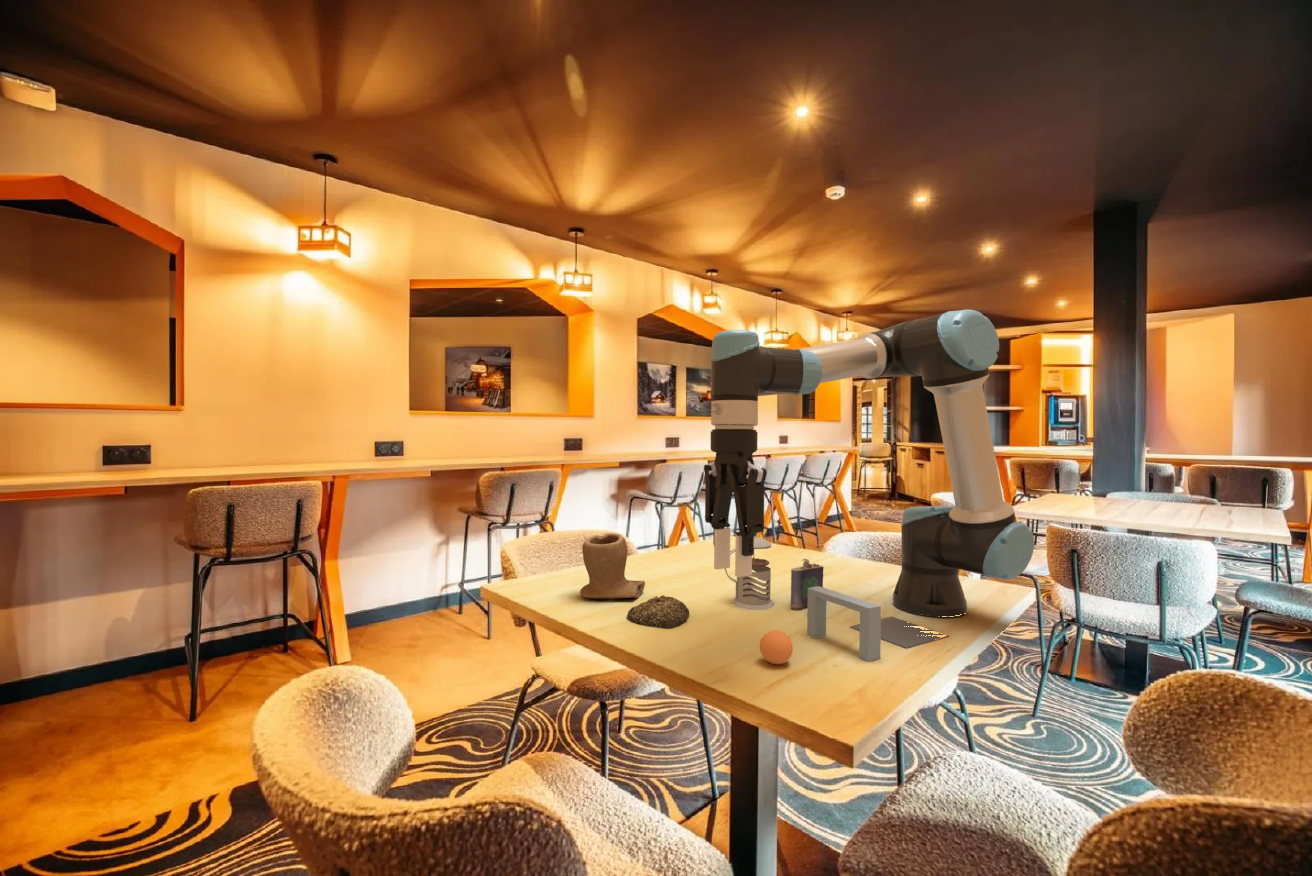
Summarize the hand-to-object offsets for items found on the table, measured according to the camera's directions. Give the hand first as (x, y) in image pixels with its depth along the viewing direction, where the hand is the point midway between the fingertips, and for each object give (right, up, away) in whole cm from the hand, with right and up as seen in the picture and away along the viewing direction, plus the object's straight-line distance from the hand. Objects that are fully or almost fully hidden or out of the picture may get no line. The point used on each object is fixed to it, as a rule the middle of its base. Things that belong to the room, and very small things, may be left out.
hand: (732, 571), depth 92 cm
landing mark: (+36, -17, +21) cm, 45 cm away
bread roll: (-11, -17, +28) cm, 35 cm away
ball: (+8, -14, +5) cm, 17 cm away
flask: (+22, -17, +37) cm, 46 cm away
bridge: (+22, -17, +13) cm, 31 cm away
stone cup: (-23, -16, +42) cm, 51 cm away
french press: (+9, -17, +39) cm, 43 cm away
